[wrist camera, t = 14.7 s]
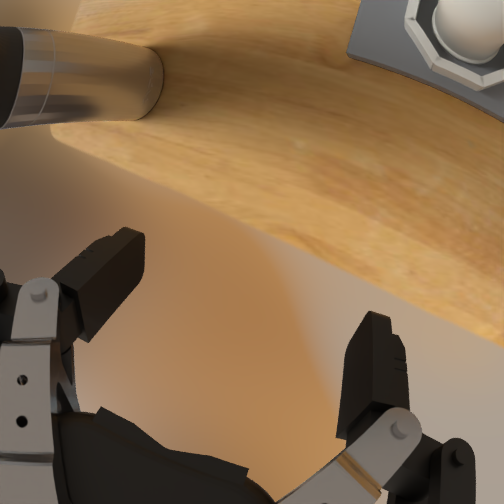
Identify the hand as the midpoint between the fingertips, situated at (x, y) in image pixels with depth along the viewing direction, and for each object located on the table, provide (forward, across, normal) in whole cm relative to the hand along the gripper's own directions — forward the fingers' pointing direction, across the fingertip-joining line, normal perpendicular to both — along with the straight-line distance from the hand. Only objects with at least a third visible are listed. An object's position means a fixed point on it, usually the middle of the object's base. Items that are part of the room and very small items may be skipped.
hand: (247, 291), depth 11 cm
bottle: (+18, -10, -16) cm, 26 cm away
